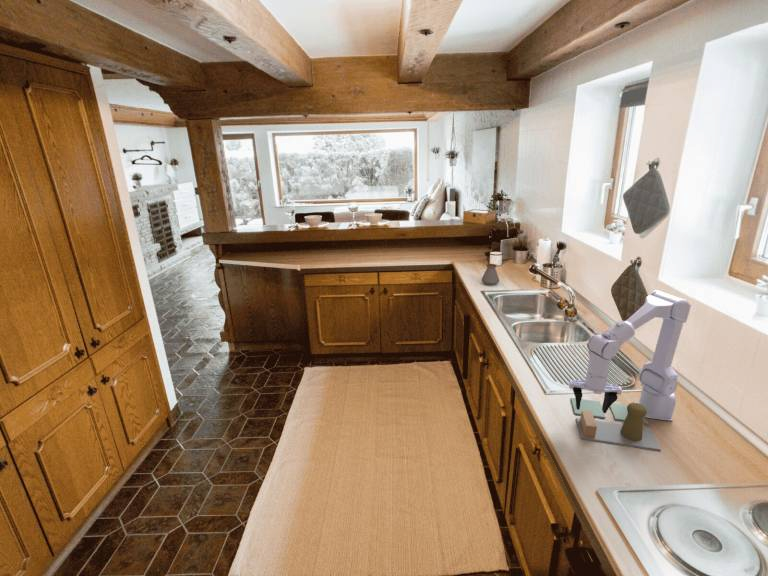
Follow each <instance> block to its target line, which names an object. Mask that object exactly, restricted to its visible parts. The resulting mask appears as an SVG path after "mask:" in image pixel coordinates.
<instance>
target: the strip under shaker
mask: <svg viewBox="0 0 768 576" xmlns="http://www.w3.org/2000/svg"><path fill="white" fill-rule="evenodd" d="M575 421H576V425H577V427H578V432H579V435H580V439H581V440H585V441H586V440H587V441H591V442H597V443H598V442H599V443H605V444H612V445H618V446H625V447H632V448H638V449H645V450H651V451H658V452H661V451H662V449H661V446H660V444H659V442H658V441H657V438H656V437H655V434H654V433H653V430H652V429H651V427H646V426H643V434H642V440H640V441H631V440H628V439H626V438H625V437H623V436H622V435H621V433H620V431H621V428H622V426H623V423H617V422H611V421H609V422H608V421H602V420H597V419H596V420H595V417H593V414H592V411H586V410H582V412H581V415H580V417H575Z"/></svg>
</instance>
